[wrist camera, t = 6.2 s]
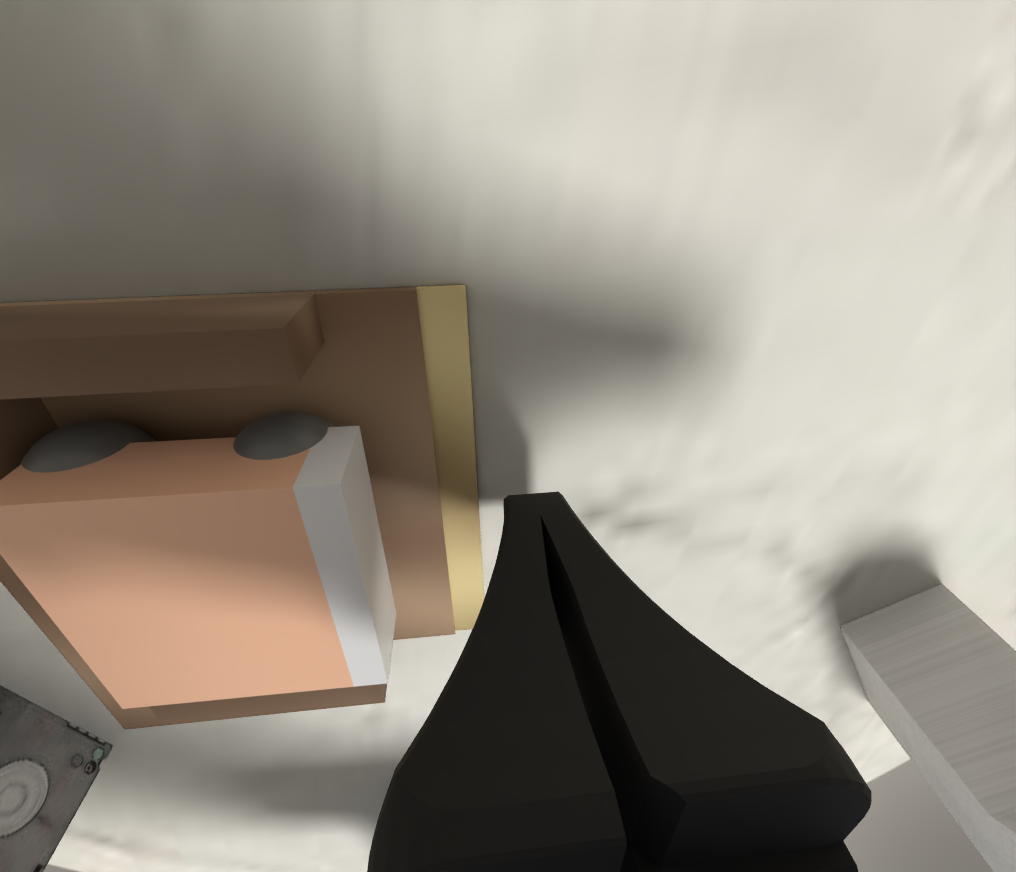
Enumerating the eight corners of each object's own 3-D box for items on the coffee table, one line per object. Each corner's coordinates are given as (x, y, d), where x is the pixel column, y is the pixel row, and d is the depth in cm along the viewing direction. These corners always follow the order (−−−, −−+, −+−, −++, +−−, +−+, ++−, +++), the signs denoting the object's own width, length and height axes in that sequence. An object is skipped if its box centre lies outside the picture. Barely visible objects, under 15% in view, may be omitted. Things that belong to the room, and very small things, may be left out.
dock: (485, 624, 16) (490, 691, 14) (166, 654, 15) (124, 729, 13) (465, 284, 10) (468, 319, 8) (-60, 305, 9) (-194, 349, 7)
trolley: (401, 593, 14) (389, 692, 12) (171, 612, 14) (106, 720, 11) (363, 387, 11) (335, 465, 8) (49, 402, 10) (-87, 490, 8)
